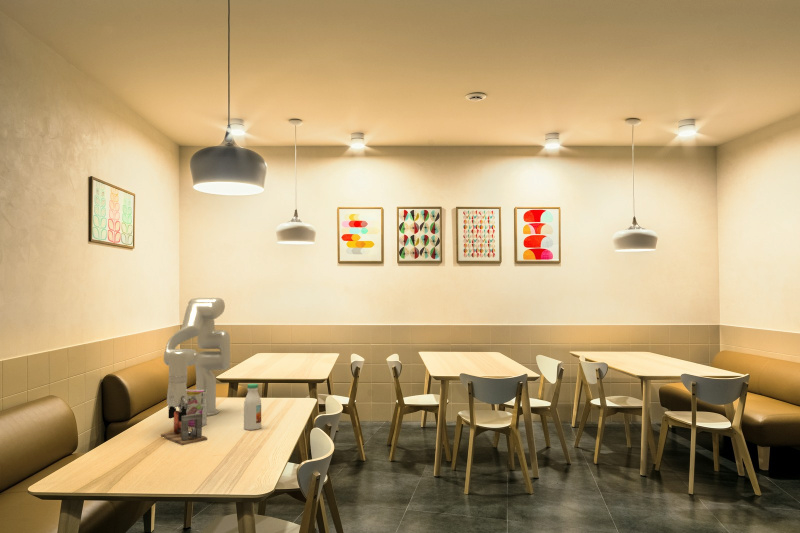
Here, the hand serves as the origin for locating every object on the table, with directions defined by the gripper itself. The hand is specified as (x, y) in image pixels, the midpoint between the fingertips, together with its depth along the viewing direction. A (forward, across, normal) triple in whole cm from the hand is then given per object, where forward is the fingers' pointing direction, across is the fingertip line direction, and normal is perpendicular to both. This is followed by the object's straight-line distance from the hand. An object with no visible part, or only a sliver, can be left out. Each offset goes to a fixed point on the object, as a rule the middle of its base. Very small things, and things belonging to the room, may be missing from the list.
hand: (177, 419), depth 241 cm
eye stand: (+7, +6, 0) cm, 9 cm away
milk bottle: (+7, +13, +29) cm, 33 cm away
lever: (+6, +7, 0) cm, 9 cm away
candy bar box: (+7, -12, +13) cm, 20 cm away
